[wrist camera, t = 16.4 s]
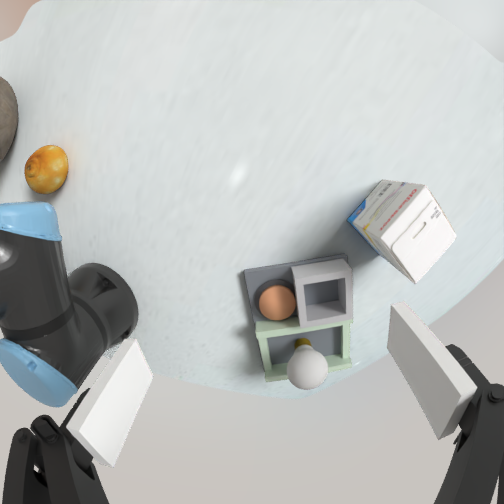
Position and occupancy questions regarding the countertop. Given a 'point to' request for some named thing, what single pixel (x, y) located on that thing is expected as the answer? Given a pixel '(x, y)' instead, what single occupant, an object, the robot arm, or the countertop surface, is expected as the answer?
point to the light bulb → (306, 366)
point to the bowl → (7, 117)
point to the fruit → (46, 169)
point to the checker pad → (277, 302)
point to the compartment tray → (305, 312)
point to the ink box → (404, 226)
